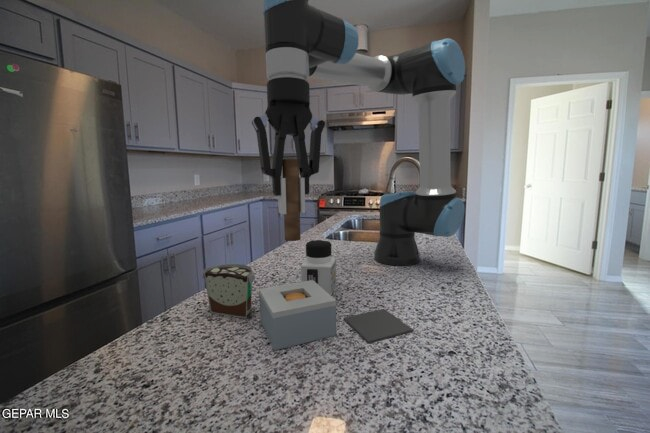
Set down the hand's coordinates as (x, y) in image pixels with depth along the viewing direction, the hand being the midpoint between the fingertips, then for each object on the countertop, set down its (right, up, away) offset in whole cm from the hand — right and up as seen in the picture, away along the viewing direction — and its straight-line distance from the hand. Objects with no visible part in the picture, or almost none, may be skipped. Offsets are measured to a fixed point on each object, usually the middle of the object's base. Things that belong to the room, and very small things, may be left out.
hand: (291, 212), depth 59 cm
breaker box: (+1, -23, +4) cm, 23 cm away
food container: (-14, -22, +12) cm, 29 cm away
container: (+5, -20, +23) cm, 31 cm away
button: (0, -20, +3) cm, 20 cm away
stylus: (0, -5, +1) cm, 5 cm away
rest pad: (+17, -23, +4) cm, 28 cm away
